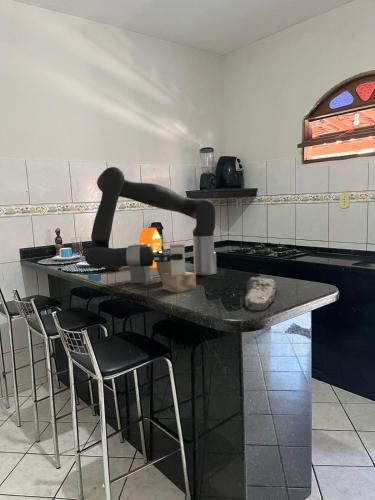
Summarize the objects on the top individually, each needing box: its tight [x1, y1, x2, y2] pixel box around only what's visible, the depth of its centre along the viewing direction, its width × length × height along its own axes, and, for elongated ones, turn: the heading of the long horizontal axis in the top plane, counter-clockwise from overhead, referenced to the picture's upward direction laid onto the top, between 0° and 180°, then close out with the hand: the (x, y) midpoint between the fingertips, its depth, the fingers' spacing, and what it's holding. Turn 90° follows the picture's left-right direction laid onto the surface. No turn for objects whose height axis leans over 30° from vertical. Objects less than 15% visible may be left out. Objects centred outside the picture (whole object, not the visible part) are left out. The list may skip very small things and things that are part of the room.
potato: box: [103, 265, 123, 271], centre depth 189 cm, size 8×13×8 cm, turn 37°
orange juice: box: [138, 227, 163, 269], centre depth 197 cm, size 8×9×20 cm
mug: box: [156, 261, 171, 284], centre depth 157 cm, size 11×10×12 cm
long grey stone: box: [244, 276, 278, 311], centre depth 130 cm, size 35×5×10 cm
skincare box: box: [127, 243, 152, 284], centre depth 160 cm, size 8×7×16 cm
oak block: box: [162, 271, 197, 294], centre depth 145 cm, size 9×9×6 cm
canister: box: [169, 242, 186, 275], centre depth 144 cm, size 5×5×11 cm
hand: (182, 255), depth 144 cm, fingers open, 8 cm apart
